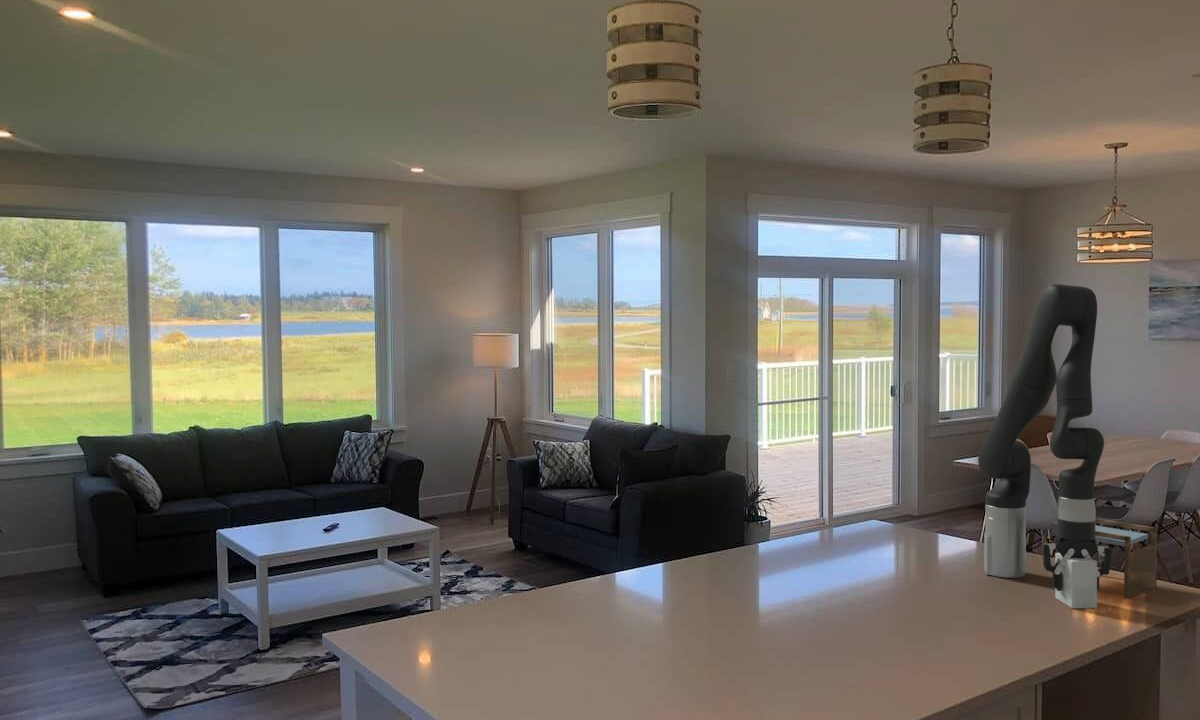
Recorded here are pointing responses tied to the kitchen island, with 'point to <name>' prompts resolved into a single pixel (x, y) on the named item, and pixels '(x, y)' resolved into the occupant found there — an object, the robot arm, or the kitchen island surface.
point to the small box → (1078, 583)
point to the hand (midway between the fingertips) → (1075, 591)
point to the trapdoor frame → (1136, 560)
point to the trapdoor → (1134, 535)
